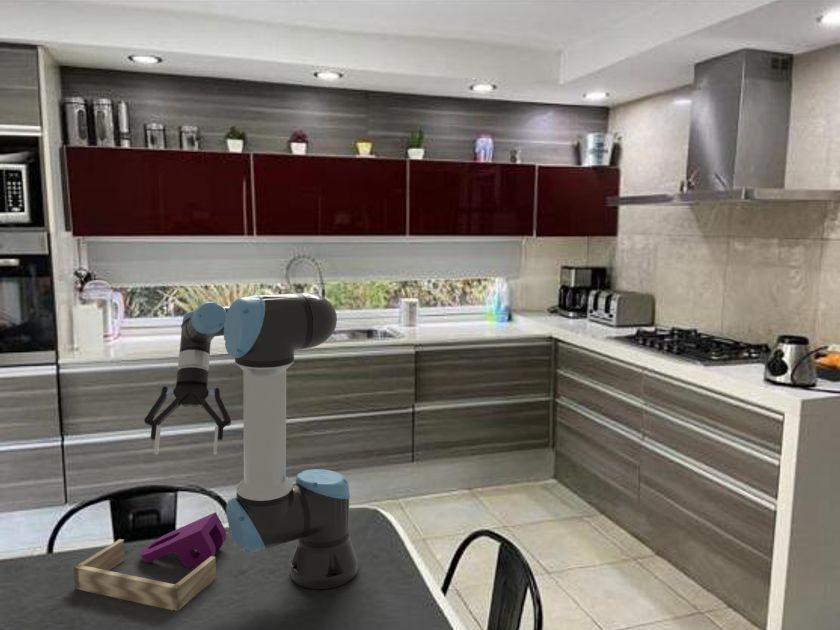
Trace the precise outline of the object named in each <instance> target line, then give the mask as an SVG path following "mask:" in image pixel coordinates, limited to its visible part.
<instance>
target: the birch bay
mask: <svg viewBox="0 0 840 630" xmlns="http://www.w3.org/2000/svg"><path fill="white" fill-rule="evenodd" d="M124 541H125V539H121V538H119V539H117V540H116V541H114V542H112V543H111V544H109V545H108V546H105V548H103V549H101V550H99V551H98V552H96V553H95V554H92V555H91V556H89V557H88V558H87V559H85V560H84V561H81V562H80V563H79V564H77V565H75V566H74V567H73V573H74V574H73V575H74V585H75V590H79V591H84V592H88V593H93V594H97V595H102V596H107V597H111V598H116V599H119V600H125V601H129V602H132V603H138V604H141V605H147V606H151V607H156V608H160V609H164V610H169V609H170V610H169V611H173V610H175V611H174V612H179V610H181V609H182V608H183V607H185V606H186V604H188V603H189V602H190V601H191V600H192V599H194V598H195V597H196V596H197V595H198V594H199V593H201V592H202V591H203V590H204V589H205V588H206V587H207V586H209V585H210V584H211V583H212V582H213V581H215V580H216V579H217V561H216V556H214V557H213V556H210V557H209V558H208V559H207V560H205V561H204V562H203V563H202V564H200V565H199V566H198V567H197V568H195V569H192V571H190V572H189V573H187V574H186V575H185V576H184V577H183V578H181V579H180V580H179V581H178V582H176V583H174V584H173V583H169V582H165V581H160V580H156V579H155V580H154V579H150V578H146V577H141V576H136V575H132V574H131V575H130V574H127V573H121V572H116V571H111V570H112V569H113V568H114V567H116V566H118V565H119V564H121V563H122V562H124V561H126V555H125V552H126V551H125V542H124Z"/></svg>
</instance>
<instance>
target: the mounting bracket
mask: <svg viewBox="0 0 840 630" xmlns="http://www.w3.org/2000/svg"><path fill="white" fill-rule="evenodd" d="M226 531H227V530H226V529H225V527H224V525H223V523H222V522H221V519H220V517H219V516H218V514H217V512H216V511H215V512H213V513H211V514H208V515H206V516H203V517H201V518H200V519H197V520H195V521H193V522H190V523H189V524H186V525H184V526H181V527H178V528H177V529H175V530H172V531H171V532H168V533H166V534H164V535H162V536H160V537H159V538H157V539H155V540H154V541H152V542H151V543H149V544H148V545H147V546H145V548H143V549H142V551H141V552H140V555H141V558H142V560H143V561H144V563H146V564H147V563H151V562H154V561H157V560H158V559H160V558H163V557H165V556H168V555H170V554H172V553H175V554H176V555H177V557H178V559H179V561H180V562H181V564H182V565H183V566H184V567H186V568H188V569H190V568H197V567H198V566H199V565H200V564H202V563H203V562H204V561H205V560H207V559H208V558H209V557H210V556H213V557H215V554H216V553H218V551H219V550H220V549H221V548H222V546H223V545H224V543H225V542H226V539H227V532H226Z"/></svg>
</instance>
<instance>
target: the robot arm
mask: <svg viewBox="0 0 840 630" xmlns="http://www.w3.org/2000/svg"><path fill="white" fill-rule="evenodd" d="M337 318H338V315H337V313H336V309H335V307H334V306H333V304H332V303H331V302H330V301H329V300H328V299H326V298H325V297H324V296H321V295H319V294H315V293H311V292H310V293H309V292H297V293H282V294H281V293H280V294H260V295H259V294H255V295H252V296H244V297H239V298H236V299H235V300H233V302H232V303H231V304H230V305H222V304H220V303H218V302H215V301H205V302H203V303H202V304H200V305H199V306H198V307H197V308H196V309H195V310H192V311H189V312H186V313H184V315H183V317H182V322H181V324H180V330H181V333H180V344H179V345H180V346H179V352H178V363H177V369H178V370H177V373H176V383H175V387H174V388H170V387H169V388H168V387H167V386H162V388H161V392H160V395H159V397H158V398H157V400H156V401H155V403H154V404H153V406H152V408H151V409H149V410H150V411H149V412H148V413H147V415H146V417H145V418H144V420H143V421H144V423H145V425H147V426H149V427H150V426H151V431H150V439H151V441H154V447H153V453H154V455H156V456H158V455H159V452H160V451H159V449H160V440H161V430H162V427H161V424H162V423H164V421H165V420H167V418H168V417H169V416H170V415H172V414H173V413H174V411H175V410H176V409H178V408H180V406H183V408H184V407H185V408H187V407H193V408H195V407H199V406H201V408H202V409H203V410H204V411H205V412H206V413H207V415H208V416H209V417H210V418H211V420H212V422H214V424H215V426H214V437H213V438H214V439H213V440H214V441H213V452H212V453H213V455H217V454H218V444H219V443H218V441H222V440H223V438H224V429H225V427H229V426H230V425H231V424H232V420H231V417H230V416H229V413H228V410H227V409H226V407H225V405H224V403H223V400H222V398H221V394H220V392H221V390H220V388H218V387H216V388H215V389H208V381H209V369H210V356H211V355H210V354H211V345H212V344H211V343H212V340H214V338H215V337H221V336H222V337H223V341H225V343H224V347H225V349H226V352H227V354H228V355H229V356H230V357H233V358H234V363H235V365H236V366H237V367H239V368H240V369H241V370H242V394H243V395H242V400H243V401H242V402H243V404H242V406H243V411H242V412H243V417H242V419H243V425H242V426H243V427H242V428H243V479H242V480H241V481H240V482H238V484H237V486H236V497H231V499H229V500H228V501H227V502H226V506H225V507H226V508H225V509H226V519H227V522H228V525H229V529H230V532H231V535H232V537H233V539H234V541H235V543H236V545H237V547H238V549H240V551H242V552H243V553H246V554H252V553H255V552H259V551H262V552H263V551H266V550H267V549H271V548H273V547H276V546H280V545H283V544H285V543H286V544H288V543H289V542H294V541H297V543H296V546H295V548H294V553H293V555H292V557H291V558H292V559H291V562H290V577H291V580H292V581H293V582H294V583H295V584H297V585H298V586H300V587H303V588H306V589H310V590H311V589H312V590H328V589H334V588H337V587H339V586H343V585H345V584H347V583H349V582H351V581H352V580H353V579H354V578H355V576H356V575H357V573H358V558H357V555H356V552H355V549H354V546H353V543H352V540H351V538H350V497H351V494H350V487H349V481H348V479H347V477H346V476H344V475H343V474H342V473H339V472H337V471H334V470H328V469H323V468H322V469H319V468H318V469H317V468H315V469H306V470H303V471H300V472H299V473H297V474H296V478H295V483H293V481H292V480H291V479H290V478H289V477H288V476H287V369H289V367H291V366H292V365H293V364H294V362H295V351H298V350H304V349H305V350H306V349H311V348H315V347H318V346H320V345H322V344H323V343H325V342H326V341H327V340H329V339H330V337H332V335H333V333H334V332H335V330H336V327H337V322H338V319H337ZM171 395H174V397H175V399H174V400H173V401H172V402H171V403H170V404H169V405H168V406H167V407H166V408H165V409H164V410H163V411H162V412H161V413H160V414H158V413H159V411H160V410H161V408H162V406H163V405H164V404H165V402H166V401H167V398H169V397H171ZM208 396H211V398H212V399H214V400H215V403H216V405H217V407H218V410H219V412H220V415H221V416H222V418H223V420H222V419H221V417H219V416H218V414H217V413H216V412H215V411H214V410H213V408H212V407H211V406H210V404H209V403H208V401H207V400H206V399H207V398H208ZM157 414H158V415H157ZM156 416H157V417H156ZM155 417H156V418H155ZM216 425H217V426H216Z"/></svg>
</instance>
